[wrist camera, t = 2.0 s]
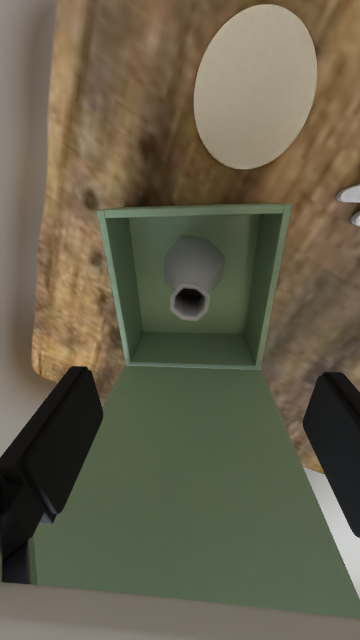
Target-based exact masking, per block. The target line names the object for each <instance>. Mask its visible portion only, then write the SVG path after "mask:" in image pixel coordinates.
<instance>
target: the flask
mask: <svg viewBox="0 0 360 640" xmlns="http://www.w3.org/2000/svg"><path fill="white" fill-rule="evenodd" d="M224 260H225V256H224V255H223V254H222V253H221V252H220V251H218V250H217V249H216V248H215V247H214V246H213V245H212V244H211V243H210V242H209V241H208V240H207V239H200V238H189V237H180V238H179V239H178V241H177V242H176V243H175V244H174V246H173V247H172V248H171V249H170V250H169V252H168V253H167V254H166V255H165V256H164V281H165V282H166V283H167V284H168V285H169V286H170V288H171V289H172V290H173V291H174V292H173V293H172V294H171V298H170V311H171V312H173V313H174V314H175V315H176V316H178V317H179V318H180V319H181V320H190V321H198V320H199V319H200V318H201V317H202V316H203V315H204V314H205V313H207V312H208V307H209V301H210V295H209V294H208V293H209V292H210V291H211V290H212V289H213V288H214V287H215V286H216V285H217V284H218V283H220V282H221V278H222V272H223V266H224Z"/></svg>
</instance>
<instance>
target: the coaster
mask: <svg viewBox="0 0 360 640" xmlns="http://www.w3.org/2000/svg"><path fill="white" fill-rule="evenodd" d="M316 84H317V59H316V53H315V48H314V45H313V42H312V39H311V36H310V34H309V32H308V30H307V28H306V27H305V25H304V24H303V22H302V21H301V20H300V19H299V18H298V17H297V16H296V15H295V14H294V13H292V12H291V11H289V10H288V9H286V8H283V7H281V6H278V5H273V4H261V5H256V6H252V7H249V8H247V9H244V10H243V11H241V12H239V13H238V14H236V15H234V16H233V17H232V18H231V19H230V20H228V21H227V22H226V23H225V24H224V25H223V26H222V27H221V28H220V29H219V31H218V32H217V33H216V35H215V36H214V37H213V39H212V40H211V42H210V44H209V46H208V47H207V49H206V51H205V53H204V56H203V58H202V60H201V63H200V66H199V69H198V73H197V77H196V81H195V88H194V116H195V123H196V127H197V131H198V134H199V136H200V139H201V141H202V143H203V145H204V147H205V148H206V150H207V151H208V153H209V154H210V155H211V156H212V157H213V158H214V159H215V160H217V161H218V162H219V163H221V164H222V165H224V166H226V167H229V168H232V169H237V170H249V169H254V168H258V167H261V166H263V165H265V164H267V163H269V162H271V161H273V160H274V159H276V158H277V157H278V156H280V155H281V154H282V153H283V152H284V151H285V150H286V149H287V148H288V147H289V146H290V145H291V144H292V142H293V141H294V140H295V139H296V137H297V136H298V134H299V133H300V131H301V129H302V128H303V126H304V124H305V122H306V120H307V117H308V115H309V113H310V110H311V107H312V104H313V100H314V96H315V90H316Z"/></svg>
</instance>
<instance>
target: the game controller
mask: <svg viewBox="0 0 360 640" xmlns="http://www.w3.org/2000/svg"><path fill="white" fill-rule="evenodd" d="M336 198H337V200H338V201H341V202H353V203H360V184H357V185H355V186H352V187H349V188H346V189H343V190H341V191H340V192H339V193H338V194H337V196H336ZM351 222H352V224H354V225H357V226H360V211H359V212H357V213H356V214H354V215H353V217H352V219H351Z"/></svg>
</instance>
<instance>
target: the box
mask: <svg viewBox="0 0 360 640" xmlns="http://www.w3.org/2000/svg"><path fill="white" fill-rule="evenodd" d="M291 209H292V204H275V203H251V204H217V205H183V206H149V207H122V208H112V209H103V210H97V213H98V218H99V223H100V229H101V234H102V239H103V245H104V250H105V255H106V260H107V266H108V271H109V276H110V281H111V287H112V292H113V297H114V302H115V308H116V313H117V318H118V324H119V329H120V334H121V339H122V345H123V350H124V355H125V360H126V365H132V366H161V367H190V368H219V369H248V370H254V369H255V370H260V367H261V362H262V357H263V352H264V347H265V342H266V337H267V331H268V326H269V321H270V316H271V311H272V306H273V301H274V296H275V291H276V286H277V281H278V275H279V270H280V265H281V260H282V255H283V250H284V245H285V240H286V235H287V230H288V224H289V219H290V214H291ZM180 237H189V238H200V239H207V240H208V241H209V242H210V243H211V244H212V245H213V246H214V247H215V248H216V249H217V250H218V251H220V252H221V253H222V254H223V255H224V256H225V260H224V266H223V272H222V278H221V282H220V283H218V284H217V285H216V286H215V287H214V288H213V289H212V290H211V291H210V292H209V293H208V294H209V295H210V301H209V307H208V312H207V313H205V314H204V315H203V316H202V317H201V318H200V319H199V320H198V321H190V320H181V319H180V318H179V317H178V316H176V315H175V314H174V313H173V312H171V311H170V298H171V294H172V293H173V292H174V291H173V290H172V289H171V288H170V286H169V285H168V284H167V283H166V282H165V281H164V256H165V255H166V254H167V253H168V252H169V250H170V249H171V248H172V247H173V246H174V244H175V243H176V242H177V241H178V239H179V238H180Z"/></svg>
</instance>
